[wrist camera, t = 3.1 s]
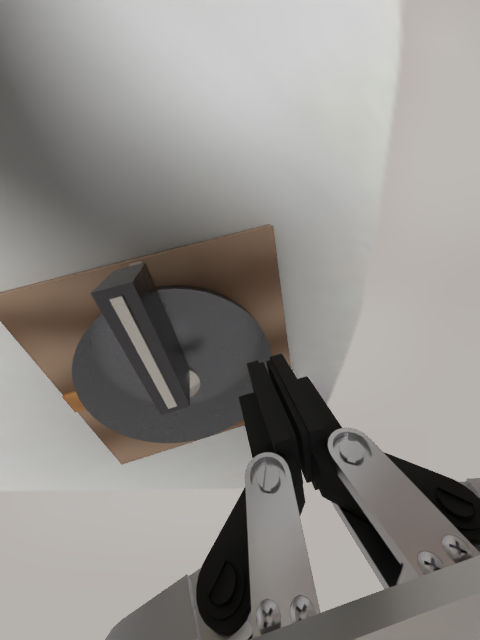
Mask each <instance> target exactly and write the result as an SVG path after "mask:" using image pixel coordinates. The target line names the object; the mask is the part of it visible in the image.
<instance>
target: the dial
mask: <svg viewBox="0 0 480 640" xmlns="http://www.w3.org/2000/svg"><path fill="white" fill-rule="evenodd" d="M91 295H92V297H93V299H94V300H95V302H96V304H97V306H98V307H99V309H100V311H101V312H102V313H101V314H100V315H99V316H98V317H97V318H96V319H95V320H94V322H93V323H92V324H91V325H90V327H89V328H88V329H87V330H86V332H85V333H84V334H83V336H82V338H81V339H80V341H79V343H78V345H77V347H76V350H75V353H74V356H73V362H72V380H73V384H74V388H75V391H76V393H77V395H78V398H79V400H80V401H81V403H82V404H83V406H84V407H85V409H86V410H87V411H88V412H89V413H90V414H91V415H92V416H93V417H94V418H95V419H96V420H98V421H99V422H100V423H101V424H103V425H104V426H106V427H108V428H109V429H111V430H113V431H115V432H117V433H119V434H121V435H124V436H127V437H130V438H133V439H137V440H141V441H146V442H153V443H181V442H189V441H194V440H199V439H202V438H206V437H209V436H212V435H215V434H217V433H219V432H222V431H224V430H226V429H228V428H229V427H231V426H233V425H235V424H236V423H237V422H239V421H240V420H242V419H243V414H242V410H241V406H240V401H239V396H242V395H246V394H249V393H253V388H252V384H251V380H250V376H249V372H248V368H247V363H250V362H253V361H257V360H258V361H259V363H261V362H264V365H265V367H266V369H267V371H268V367H267V361H268V360H270V357H271V356H272V353H271V349H270V345H269V342H268V340H267V338H266V336H265V334H264V332H263V330H262V329H261V327H260V325H259V324H258V322H257V321H256V319H255V318H254V317H253V316H252V315H251V314H250V313H249V311H247V310H246V309H245V308H244V307H243V306H241V305H240V304H239V303H237V302H236V301H234V300H232V299H231V298H229V297H227V296H225V295H223V294H220V293H218V292H215V291H212V290H209V289H205V288H201V287H195V286H186V285H168V286H158V287H156V286H155V284H154V281H153V279H152V276H151V274H150V272H149V269H148V267H147V264H146V262H145V263H141V264H137V265H133V266H129V267H125V268H121V269H118V270H114V271H113V272H112V273H111V274H110V275H109V276H108V277H106V278H105V279H104V280H103V281H102V282H101V283H100V284H99V285H98V286H97V287H96V288H95V289H94V290H93V291H92V292H91ZM268 374H269V372H268Z"/></svg>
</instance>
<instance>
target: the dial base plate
mask: <svg viewBox="0 0 480 640" xmlns="http://www.w3.org/2000/svg"><path fill="white" fill-rule="evenodd" d="M145 262H146V264H147V267H148V269H149V272H150V274H151V276H152V279H153V281H154V284H155V286H156V287H158V286H168V285H186V286H195V287H201V288H205V289H209V290H212V291H215V292H218V293H220V294H223V295H225V296H227V297H229V298H231V299H232V300H234V301H236V302H237V303H239V304H240V305H241V306H243V307H244V308H245V309H246V310H247V311H249V313H250V314H251V315H252V316H253V317H254V318H255V319H256V321H257V322H258V324H259V325H260V327H261V329H262V330H263V332H264V334H265V336H266V338H267V340H268V342H269V345H270V349H271V353H272V356H274V355H278V354H282V355H283V356H284V358H285V360H286V361H287V363H288V365H289V366H290V359H289V351H288V343H287V334H286V326H285V318H284V310H283V302H282V294H281V286H280V278H279V270H278V262H277V254H276V246H275V238H274V230H273V226H272V225H265V226H261V227H257V228H253V229H249V230H245V231H241V232H237V233H233V234H229V235H225V236H221V237H217V238H213V239H209V240H205V241H201V242H197V243H194V244H190V245H186V246H182V247H178V248H174V249H170V250H166V251H162V252H158V253H154V254H150V255H146V256H142V257H138V258H134V259H130V260H126V261H122V262H118V263H114V264H110V265H107V266H103V267H99V268H95V269H91V270H87V271H83V272H79V273H75V274H71V275H67V276H63V277H59V278H55V279H51V280H47V281H43V282H39V283H35V284H31V285H27V286H24V287H20V288H16V289H12V290H8V291H4V292H0V321H1V322H2V324H3V325H4V326H5V327H6V328H7V329H8V331H9V332H10V333H11V334H12V335H13V337H14V338H15V339H16V340H17V341H18V342H19V344H20V345H21V346H22V347H23V348H24V350H25V351H26V352H27V353H28V354H29V355H30V357H31V358H32V359H33V360H34V361H35V362H36V364H37V365H38V366H39V367H40V368H41V370H42V371H43V372H44V373H45V374H46V375H47V377H48V378H49V379H50V380H51V381H52V383H53V384H54V385H55V386H56V387H57V388H58V390H59V391H60V392H61V393H62V394H63V396H62V397H63V398H64V400H65V401H66V402H67V403H68V404H69V405H70V407H71V408H72V409H73V410H74V411H75V412H78V413H79V414H80V416H81V417H82V418H83V419H84V420H85V422H86V423H87V424H88V425H89V426H90V427H91V429H92V430H93V431H94V432H95V433H96V435H97V436H98V437H99V438H100V439H101V440H102V442H103V443H104V444H105V445H106V446H107V448H108V449H109V450H110V451H111V452H112V453H113V455H114V456H115V457H116V458H117V459H118V461H119V462H120V463H121V464H125V463H128V462H131V461H134V460H137V459H140V458H143V457H147V456H150V455H153V454H156V453H159V452H162V451H165V450H168V449H171V448H175V447H178V446H181V445H184V444H187V443H190V442H193V441H189V442H181V443H153V442H146V441H141V440H137V439H133V438H130V437H127V436H124V435H121V434H119V433H117V432H115V431H113V430H111V429H109V428H108V427H106V426H104V425H103V424H101V423H100V422H99V421H98V420H96V419H95V418H94V417H93V416H92V415H91V414H90V413H89V412H88V411H87V410H86V409H85V407H84V406H83V404H82V403H81V401H80V400H79V398H78V395H77V393H76V391H75V388H74V384H73V380H72V362H73V356H74V353H75V350H76V347H77V345H78V343H79V341H80V339H81V338H82V336H83V334H84V333H85V332H86V330H87V329H88V328H89V327H90V325H91V324H92V323H93V322H94V320H95V319H96V318H97V317H98V316H99V315H100V314H101V313H102V312H101V311H100V309H99V307H98V306H97V304H96V302H95V300H94V299H93V297H92V295H91V292H92V291H93V290H94V289H95V288H96V287H97V286H98V285H99V284H100V283H101V282H102V281H103V280H104V279H105V278H106V277H108V276H109V275H110V274H111V273H112V272H113V271H114V270H118V269H121V268H125V267H129V266H133V265H137V264H141V263H145ZM290 368H291V367H290ZM243 425H245V423H244V418H243V419H242V420H240V421H239V422H237V423H236V424H235V425H233V426H231V427H229V428H228V429H226V430H224V431H228V430H231V429H234V428H237V427H240V426H243ZM224 431H222V432H224ZM219 433H221V432H219ZM217 434H218V433H217ZM202 439H203V438H202ZM199 440H200V439H199ZM194 441H196V440H194Z"/></svg>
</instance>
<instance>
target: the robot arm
mask: <svg viewBox="0 0 480 640" xmlns="http://www.w3.org/2000/svg"><path fill="white" fill-rule="evenodd" d="M267 367H268V371H267V369H266V367H265V365H264V362H261V363H259V361H258V360H257V361H253V362H250V363H247V368H248V372H249V376H250V380H251V384H252V388H253V393H249V394H246V395H242V396H239V401H240V406H241V410H242V414H243V418H244V423H245V427H246V431H247V436H248V440H249V444H250V448H251V453H252V457H253V459H252V460H251V461H250V462H249V464H248V466H247V469H246V473H245V488H244V490H243V492H242V494H241V496H240V498H239V500H238V501H237V503H236V505H235V507H234V509H233V510H232V512H231V514H230V516H229V518H228V519H227V521H226V523H225V525H224V527H223V529H222V530H221V532H220V534H219V536H218V538H217V539H216V541H215V543H214V545H213V547H212V548H211V550H210V552H209V554H208V556H207V558H206V560H205V561H204V563H203V565H202V568H200V569H199V570H197V571H196V572H195V573H193V574H192V575H190V576H188V575H185V576H184V577H183V578H181V579H180V580H178V581H177V582H176V583H174V584H173V585H171V586H170V587H168V588H167V589H165V590H164V591H162V592H161V593H160V594H158V595H157V596H155V597H154V598H152V599H151V600H150V601H148V602H147V603H145V604H144V605H142V606H141V607H140V608H138V609H137V610H135V611H134V612H132V613H131V614H129V615H128V616H127V617H126V618H124V619H122V620H121V621H120V622H119V623H118V624H117V625H116V626H115V627H114V628H113V629H112V630H111V632H110V633H109V635H108V636H107V638H106V639H105V640H480V478H475V479H467V480H466V482H457V481H455V480H453V479H451V478H448V477H446V476H443V475H441V474H438V473H435V472H433V471H430V470H428V469H425V468H422V467H420V466H417V465H415V464H412V463H410V462H407V461H405V460H402V459H399V458H397V457H394V456H392V455H389V454H387V453H384V452H383V451H381V449H379V447H378V446H377V445H376V444H375V443H374V442H373V441H372V440H371V439H370V438H368V436H366V435H365V434H364V433H362V432H360V431H358V430H356V429H352V428H342V427H341V426H340V424H339V423H338V421H337V420H336V418H335V417H334V415H333V414H332V412H331V411H330V409H329V408H328V406H327V405H326V403H325V402H324V400H323V399H322V397H321V396H320V394H319V393H318V391H317V390H316V388H315V387H314V385H313V384H312V382H311V381H310V379H309V378H308V377H303V378H300V379H297V378H296V376H295V375H294V373H293V371H292V370H291V368H290V366H289V365H288V363H287V361H286V360H285V358H284V356H283V355H282V354H278V355H274V356H271V357H270V360H268V361H267ZM268 372H269V374H268ZM301 470H302V472H303V475H304V477H305V480H306V482H307V483H308V482H311V481H312V484H313V486H314V488H315V490H317V489H319V490H320V492H321V495H322V496H323V497H325V498H326V499H328V500H330V501H332V503H333V505H334V507H335V509H336V511H337V512H338V514H339V515H340V517H341V519H342V520H343V522H344V524H345V525H346V527H347V529H348V530H349V532H350V534H351V535H352V537H353V538H354V540H355V542H356V543H357V545H358V546H359V548H360V550H361V551H362V553H363V555H364V556H365V558H366V560H367V561H368V563H369V564H370V566H371V568H372V569H373V571H374V572H375V574H376V576H377V578H378V579H379V581H380V582H381V584H382V586H383V587H384V589H385V590H382V591H379V592H377V593H374V594H371V595H369V596H366V597H363V598H360V599H358V600H355V601H352V602H349V603H347V604H344V605H341V606H338V607H336V608H333V609H330V610H328V611H325V612H322V613H320V609H319V604H318V599H317V595H316V590H315V586H314V581H313V576H312V571H311V567H310V562H309V558H308V552H307V548H306V543H305V538H304V534H303V529H302V525H301V520H300V515H301V512H302V509H303V507H304V503H305V498H304V491H303V485H302V484H303V480H302V473H301Z"/></svg>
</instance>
